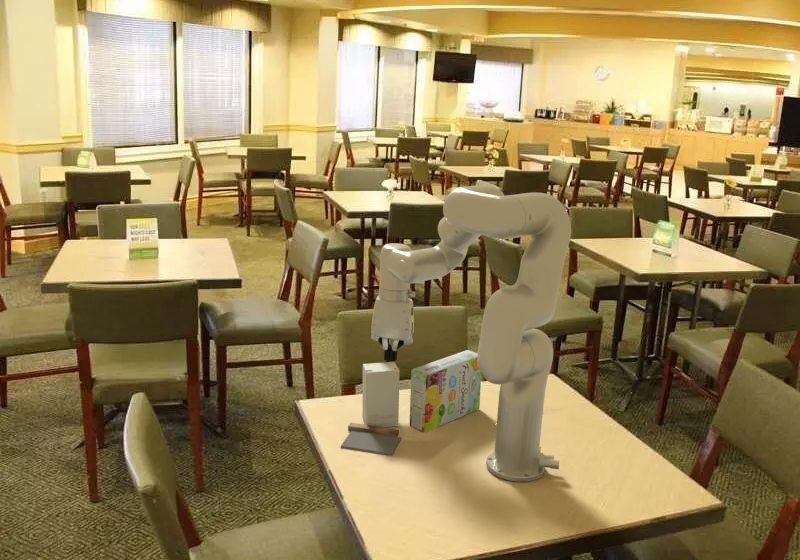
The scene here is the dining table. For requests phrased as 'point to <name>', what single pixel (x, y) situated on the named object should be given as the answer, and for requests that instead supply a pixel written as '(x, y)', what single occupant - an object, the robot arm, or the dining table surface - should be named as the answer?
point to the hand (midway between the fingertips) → (390, 363)
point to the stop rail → (373, 429)
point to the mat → (371, 442)
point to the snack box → (444, 390)
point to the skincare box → (381, 394)
